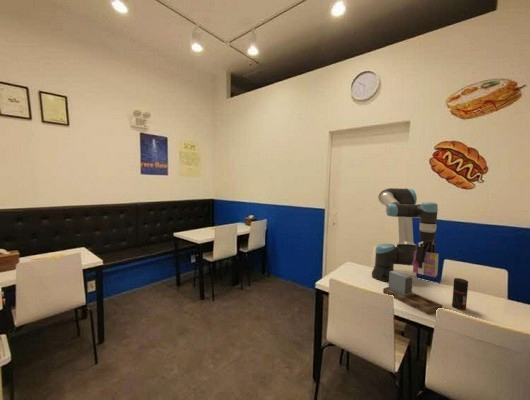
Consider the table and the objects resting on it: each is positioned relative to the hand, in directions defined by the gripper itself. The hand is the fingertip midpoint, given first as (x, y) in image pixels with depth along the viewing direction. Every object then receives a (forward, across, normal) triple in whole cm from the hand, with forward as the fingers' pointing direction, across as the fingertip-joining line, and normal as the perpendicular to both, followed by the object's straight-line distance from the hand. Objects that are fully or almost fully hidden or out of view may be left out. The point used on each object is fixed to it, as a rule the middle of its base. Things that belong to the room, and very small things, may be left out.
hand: (424, 272), depth 134 cm
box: (+1, 0, 0) cm, 1 cm away
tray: (+18, -3, +5) cm, 18 cm away
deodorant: (+18, +14, -11) cm, 25 cm away
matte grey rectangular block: (+16, -3, +12) cm, 20 cm away
